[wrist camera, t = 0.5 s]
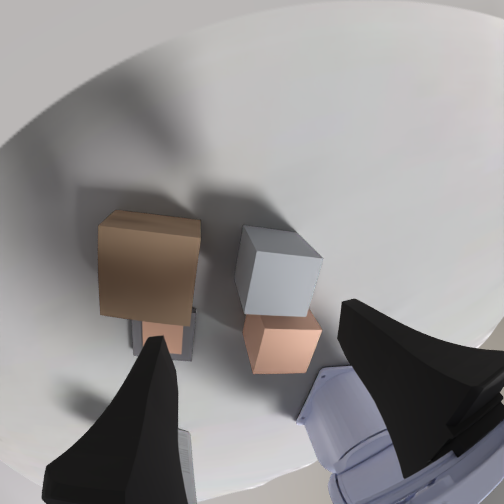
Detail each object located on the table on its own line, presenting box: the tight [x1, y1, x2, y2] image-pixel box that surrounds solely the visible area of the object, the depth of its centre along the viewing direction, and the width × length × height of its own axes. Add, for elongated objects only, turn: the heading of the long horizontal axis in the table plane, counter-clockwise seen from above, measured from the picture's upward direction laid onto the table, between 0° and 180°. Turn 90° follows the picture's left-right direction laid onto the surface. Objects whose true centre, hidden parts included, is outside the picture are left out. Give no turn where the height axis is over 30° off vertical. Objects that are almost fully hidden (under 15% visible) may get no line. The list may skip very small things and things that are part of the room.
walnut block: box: [98, 210, 201, 327], centre depth 18 cm, size 6×6×4 cm
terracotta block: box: [243, 309, 322, 374], centre depth 21 cm, size 4×4×5 cm
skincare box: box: [178, 429, 197, 504], centre depth 22 cm, size 6×4×12 cm
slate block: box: [234, 225, 323, 317], centre depth 19 cm, size 4×4×5 cm
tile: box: [132, 309, 196, 361], centre depth 22 cm, size 5×5×1 cm
